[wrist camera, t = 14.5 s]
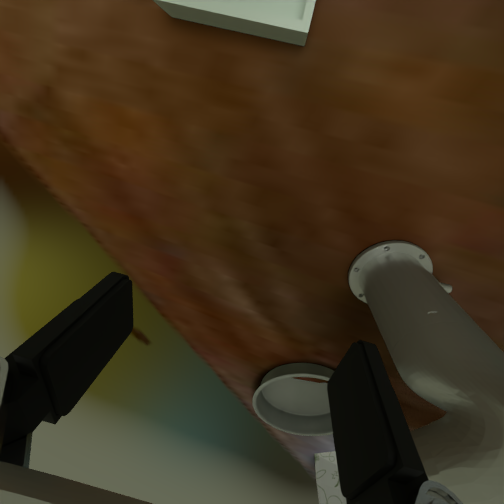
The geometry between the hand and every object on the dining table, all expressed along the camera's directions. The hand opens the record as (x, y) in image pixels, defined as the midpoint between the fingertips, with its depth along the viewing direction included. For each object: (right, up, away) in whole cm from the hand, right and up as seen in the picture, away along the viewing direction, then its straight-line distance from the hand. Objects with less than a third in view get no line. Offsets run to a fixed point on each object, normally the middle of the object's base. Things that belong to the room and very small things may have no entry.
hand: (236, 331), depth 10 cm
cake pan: (+14, -31, +49) cm, 60 cm away
